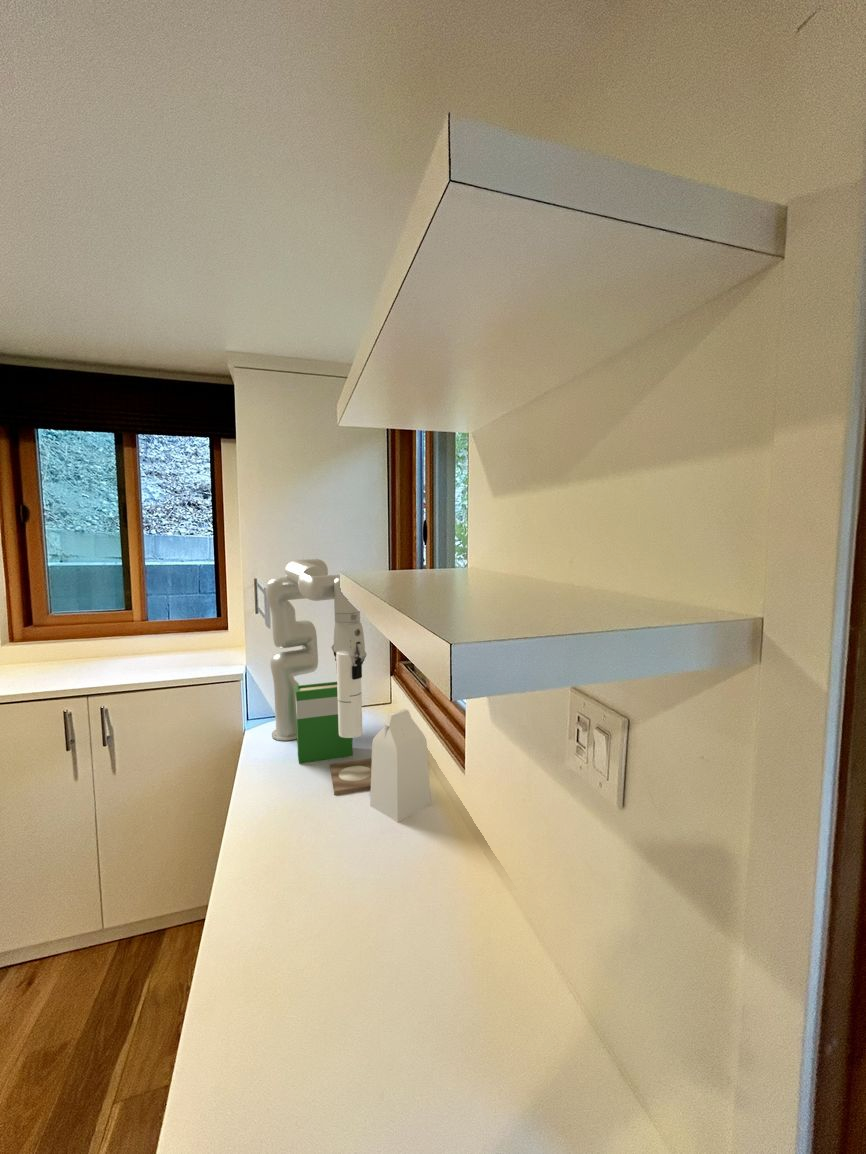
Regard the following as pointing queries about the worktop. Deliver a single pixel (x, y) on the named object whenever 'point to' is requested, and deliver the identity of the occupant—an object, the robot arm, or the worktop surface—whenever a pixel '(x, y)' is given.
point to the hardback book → (319, 724)
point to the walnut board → (351, 776)
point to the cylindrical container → (348, 698)
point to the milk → (399, 768)
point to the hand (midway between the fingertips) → (349, 675)
